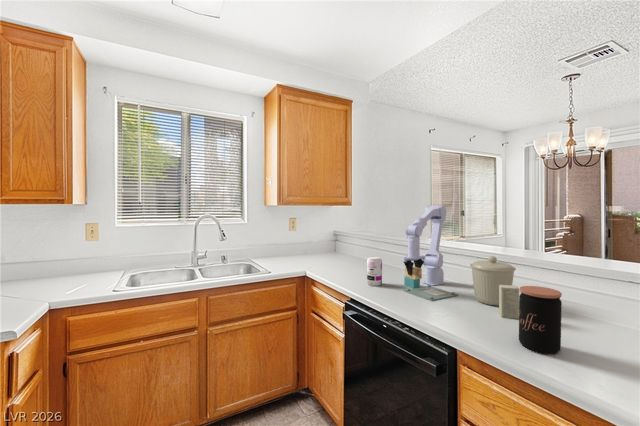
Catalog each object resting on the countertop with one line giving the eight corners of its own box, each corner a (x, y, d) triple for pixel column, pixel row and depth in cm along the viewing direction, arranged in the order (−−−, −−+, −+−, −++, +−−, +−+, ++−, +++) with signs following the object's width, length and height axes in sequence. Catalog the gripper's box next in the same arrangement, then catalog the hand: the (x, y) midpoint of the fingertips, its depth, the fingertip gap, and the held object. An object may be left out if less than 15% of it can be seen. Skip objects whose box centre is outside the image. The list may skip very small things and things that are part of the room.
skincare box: (516, 315, 122) (516, 285, 122) (519, 319, 118) (519, 288, 117) (498, 313, 124) (498, 284, 124) (500, 317, 120) (501, 286, 119)
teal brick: (410, 284, 169) (410, 275, 169) (419, 287, 163) (420, 278, 163) (404, 285, 167) (404, 276, 167) (413, 288, 161) (413, 279, 161)
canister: (512, 299, 143) (512, 254, 142) (518, 311, 126) (519, 261, 126) (469, 294, 150) (469, 252, 150) (470, 305, 134) (470, 258, 133)
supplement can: (381, 282, 173) (381, 256, 173) (382, 286, 165) (382, 259, 165) (366, 282, 174) (366, 256, 174) (367, 286, 166) (367, 258, 166)
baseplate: (429, 286, 164) (429, 284, 164) (457, 295, 148) (457, 292, 148) (404, 291, 156) (404, 288, 156) (431, 301, 140) (431, 298, 140)
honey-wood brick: (411, 275, 162) (411, 266, 162) (421, 278, 155) (421, 268, 155) (405, 276, 160) (405, 267, 160) (415, 279, 153) (415, 269, 153)
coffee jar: (510, 340, 100) (511, 286, 99) (541, 339, 101) (542, 285, 100) (536, 356, 89) (537, 295, 89) (570, 355, 90) (571, 294, 89)
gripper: (418, 246, 164) (418, 271, 164) (397, 248, 157) (397, 274, 158) (428, 248, 158) (428, 274, 158) (407, 250, 151) (407, 277, 151)
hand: (413, 274), depth 157 cm, fingers closed on honey-wood brick, 4 cm apart
